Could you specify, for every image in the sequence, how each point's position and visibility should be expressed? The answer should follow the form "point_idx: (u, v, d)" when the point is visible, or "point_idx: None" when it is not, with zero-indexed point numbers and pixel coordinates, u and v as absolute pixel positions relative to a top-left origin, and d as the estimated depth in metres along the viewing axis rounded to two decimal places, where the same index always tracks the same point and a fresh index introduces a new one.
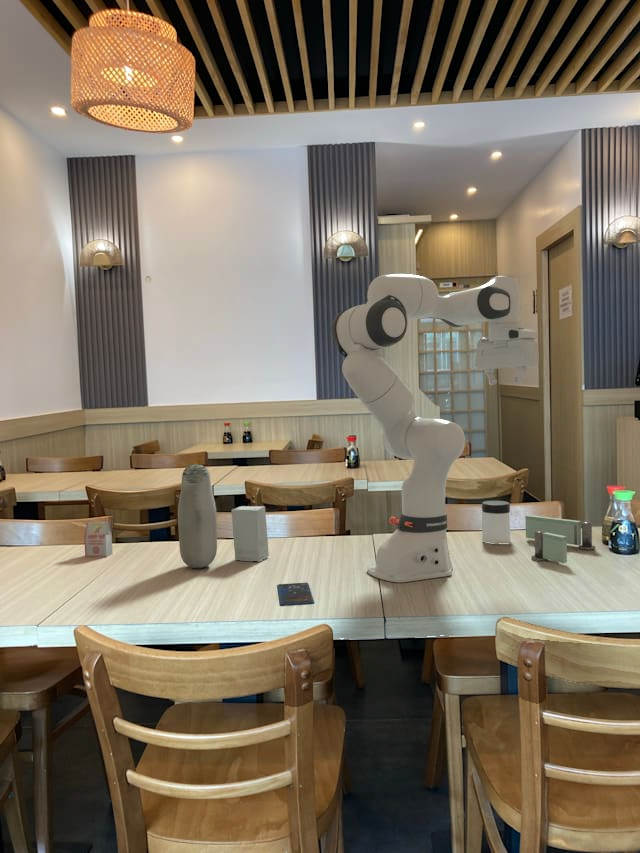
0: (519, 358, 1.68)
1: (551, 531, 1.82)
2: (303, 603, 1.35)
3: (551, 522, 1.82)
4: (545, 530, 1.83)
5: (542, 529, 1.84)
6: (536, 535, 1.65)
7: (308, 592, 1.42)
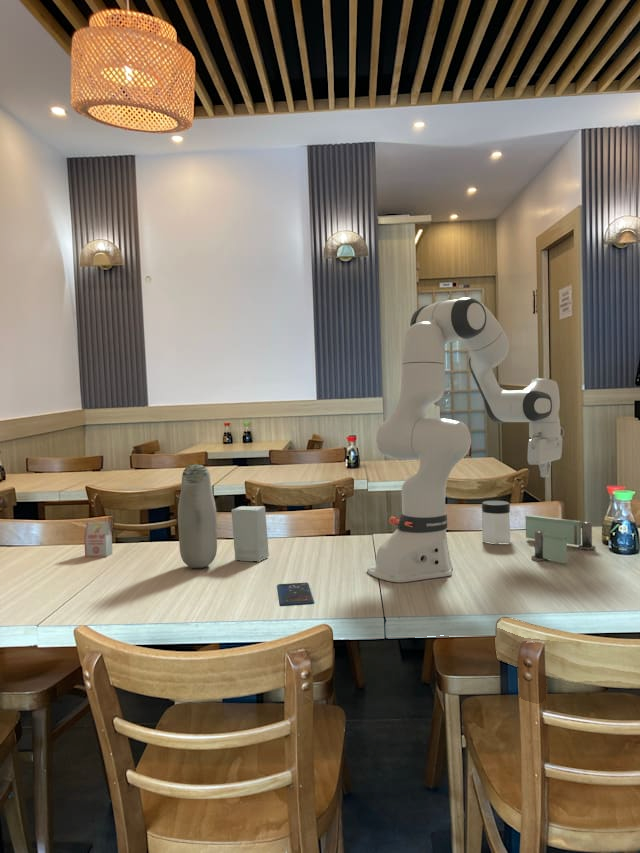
0: (557, 453, 1.92)
1: (551, 531, 1.82)
2: (303, 603, 1.35)
3: (551, 522, 1.82)
4: (545, 530, 1.83)
5: (542, 529, 1.84)
6: (536, 535, 1.65)
7: (308, 592, 1.42)
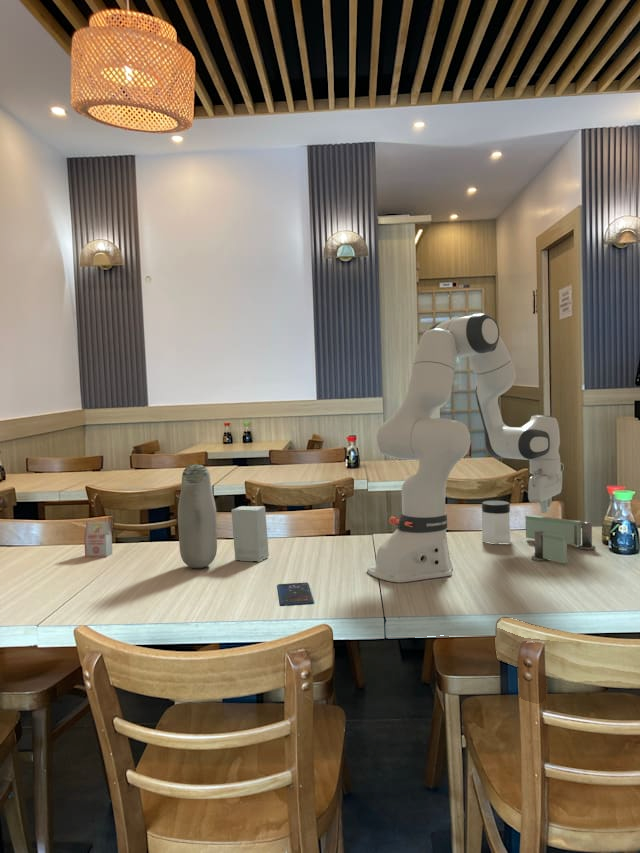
0: (558, 487, 1.93)
1: (551, 531, 1.82)
2: (303, 603, 1.35)
3: (551, 522, 1.82)
4: (545, 530, 1.83)
5: (542, 529, 1.84)
6: (536, 535, 1.65)
7: (308, 592, 1.42)
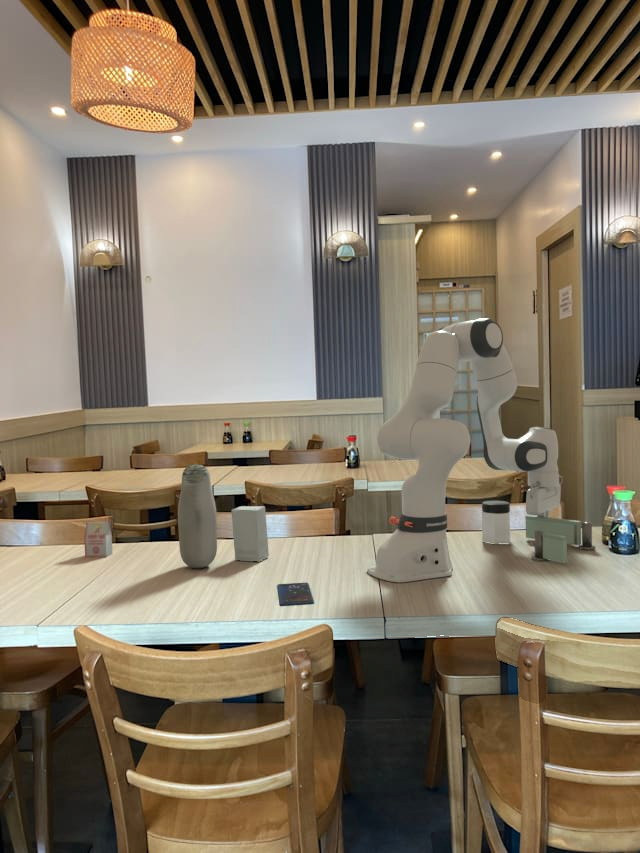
0: (556, 500, 1.91)
1: (551, 531, 1.82)
2: (303, 603, 1.35)
3: (551, 522, 1.82)
4: (545, 530, 1.83)
5: (542, 529, 1.84)
6: (536, 535, 1.65)
7: (308, 592, 1.42)
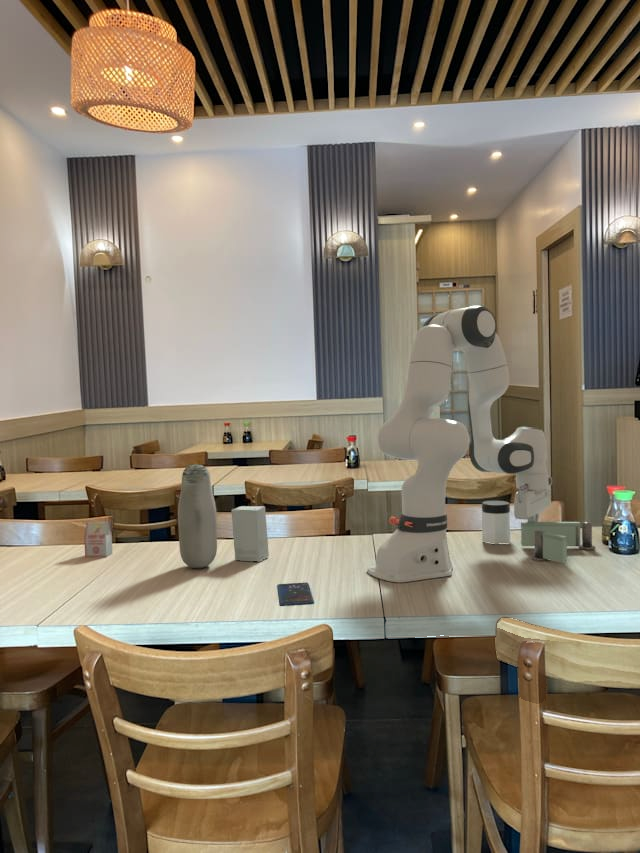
0: (546, 502, 1.84)
1: None
2: (303, 603, 1.35)
3: (551, 526, 1.76)
4: None
5: None
6: (536, 535, 1.65)
7: (308, 592, 1.42)
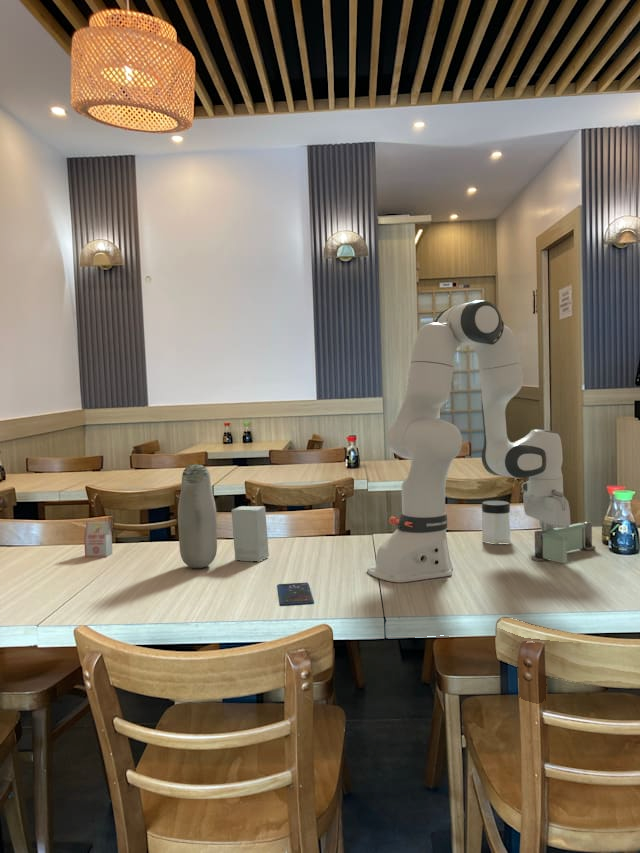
0: None
1: (567, 540, 1.70)
2: (303, 603, 1.35)
3: (567, 531, 1.70)
4: None
5: None
6: (536, 535, 1.65)
7: (308, 592, 1.42)
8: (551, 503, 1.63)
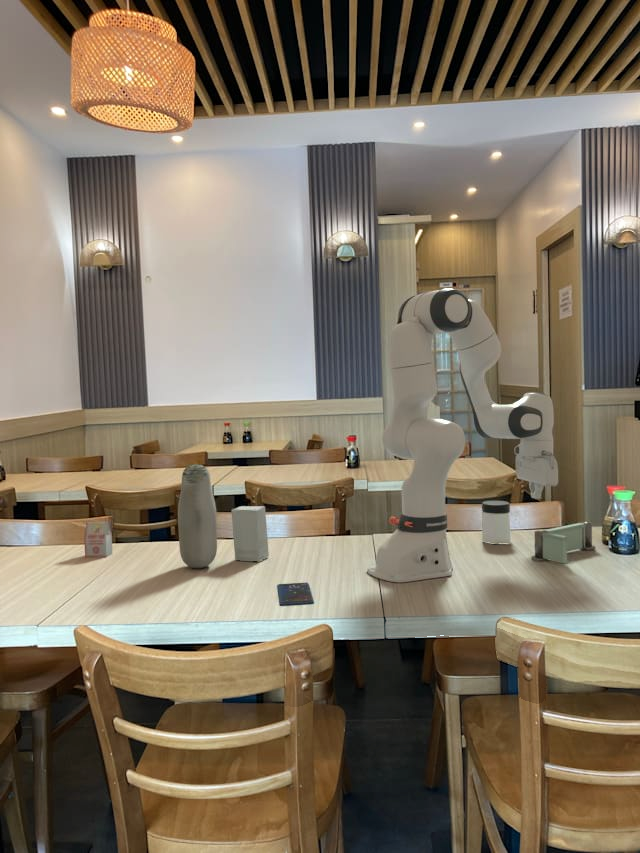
0: None
1: (567, 540, 1.70)
2: (303, 603, 1.35)
3: (567, 531, 1.70)
4: None
5: None
6: (536, 535, 1.65)
7: (308, 592, 1.42)
8: (540, 462, 1.69)
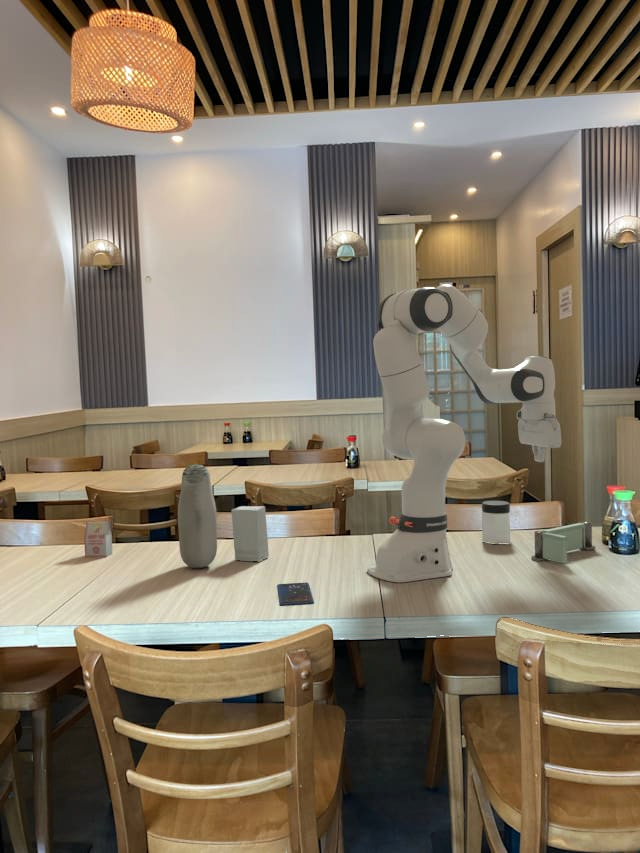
0: None
1: (567, 540, 1.70)
2: (303, 603, 1.35)
3: (567, 531, 1.70)
4: None
5: None
6: (536, 535, 1.65)
7: (308, 592, 1.42)
8: (543, 425, 1.69)
